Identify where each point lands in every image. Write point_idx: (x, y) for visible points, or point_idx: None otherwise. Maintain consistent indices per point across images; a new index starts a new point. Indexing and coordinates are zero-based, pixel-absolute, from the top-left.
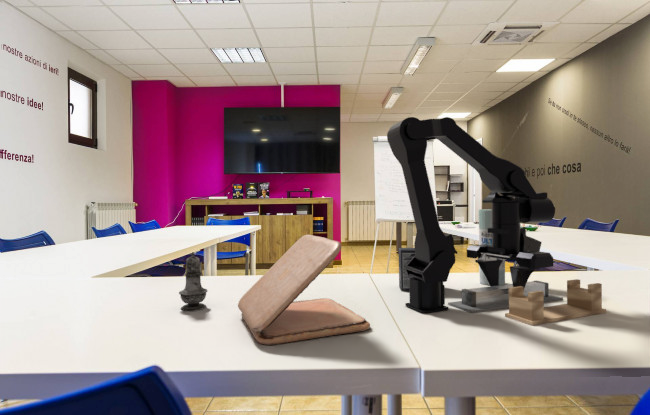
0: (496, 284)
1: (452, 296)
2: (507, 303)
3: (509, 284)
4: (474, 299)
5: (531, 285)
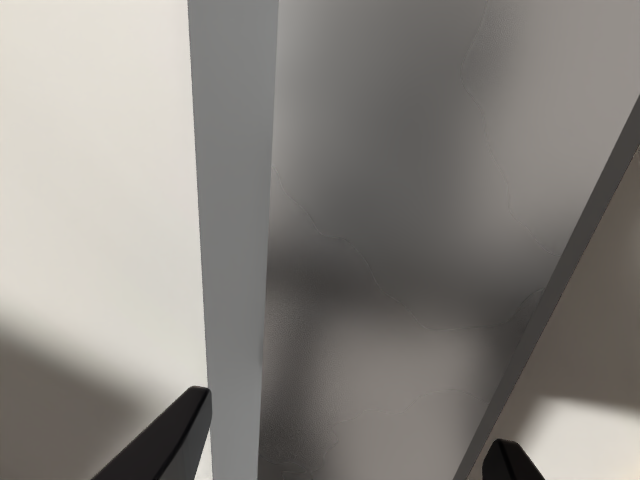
0: (179, 471)
1: (60, 464)
2: None
3: (277, 422)
4: None
5: (561, 248)
